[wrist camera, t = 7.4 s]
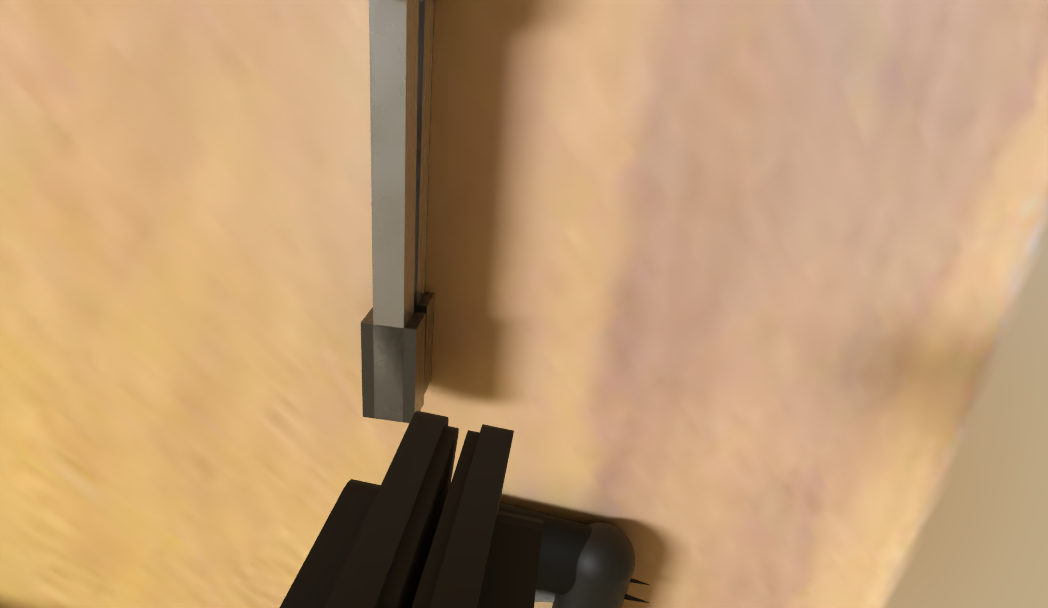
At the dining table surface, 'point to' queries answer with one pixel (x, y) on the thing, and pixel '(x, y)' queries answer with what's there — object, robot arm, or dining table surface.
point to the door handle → (581, 563)
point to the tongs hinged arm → (393, 219)
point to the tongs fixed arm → (423, 175)
